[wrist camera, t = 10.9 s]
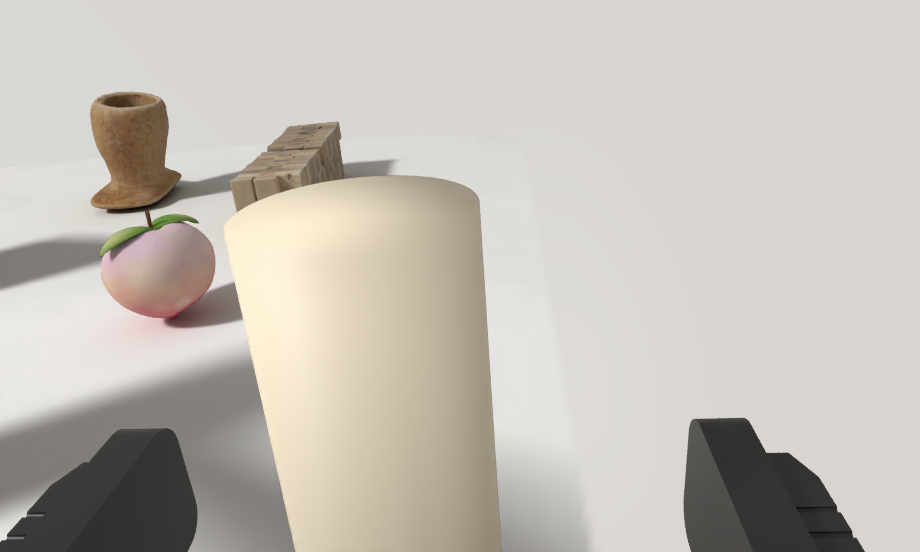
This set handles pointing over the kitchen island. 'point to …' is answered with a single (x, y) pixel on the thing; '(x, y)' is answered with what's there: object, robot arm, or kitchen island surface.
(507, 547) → the kitchen island surface
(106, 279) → the decorative fruit
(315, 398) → the beige l-shaped piece
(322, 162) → the block tower
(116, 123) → the stone cup
